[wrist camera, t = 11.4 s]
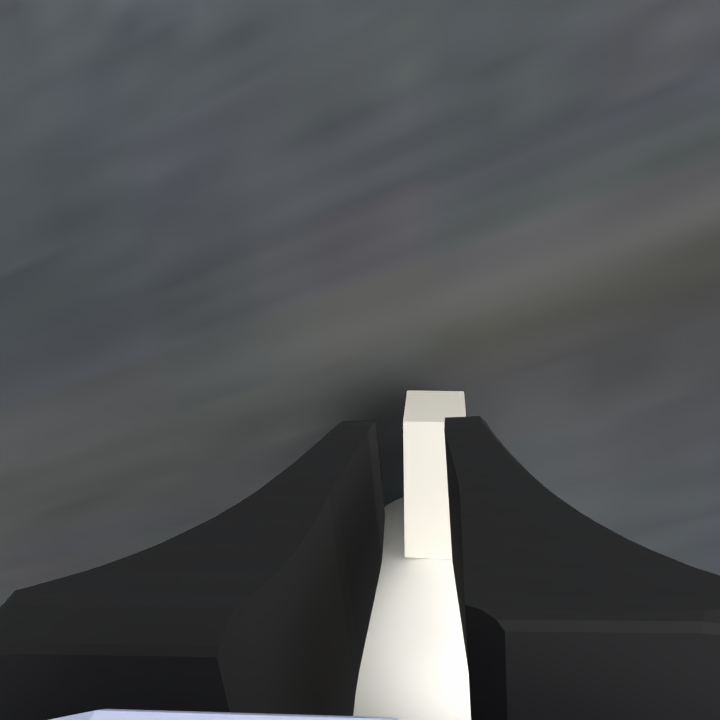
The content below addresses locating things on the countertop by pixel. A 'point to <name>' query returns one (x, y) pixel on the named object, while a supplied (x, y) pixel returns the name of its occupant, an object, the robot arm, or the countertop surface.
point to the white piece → (418, 585)
